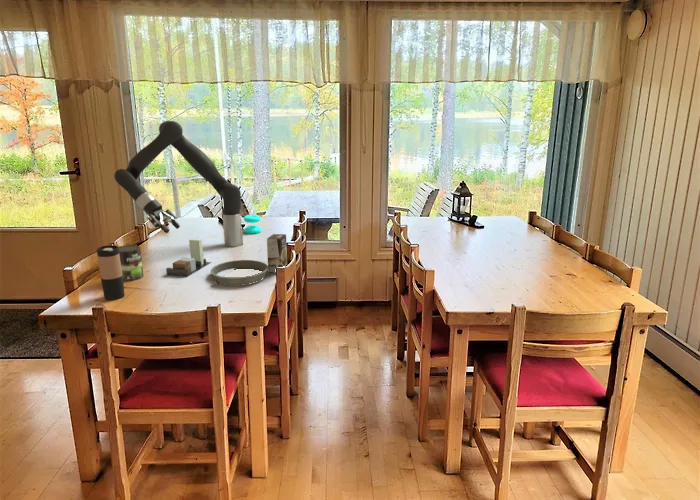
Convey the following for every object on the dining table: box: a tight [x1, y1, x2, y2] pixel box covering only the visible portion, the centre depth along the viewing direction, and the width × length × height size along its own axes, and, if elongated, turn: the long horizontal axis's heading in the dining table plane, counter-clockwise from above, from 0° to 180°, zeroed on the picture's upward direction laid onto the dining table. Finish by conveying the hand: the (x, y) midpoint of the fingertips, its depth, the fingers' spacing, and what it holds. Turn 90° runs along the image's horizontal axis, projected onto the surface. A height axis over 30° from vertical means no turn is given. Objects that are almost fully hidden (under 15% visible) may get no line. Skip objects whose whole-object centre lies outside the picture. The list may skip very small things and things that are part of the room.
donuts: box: [243, 214, 262, 235], centre depth 285 cm, size 10×10×10 cm
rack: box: [165, 258, 212, 278], centre depth 218 cm, size 21×10×4 cm, turn 167°
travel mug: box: [96, 245, 125, 301], centre depth 184 cm, size 8×8×20 cm
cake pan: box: [210, 259, 268, 286], centre depth 209 cm, size 25×25×4 cm
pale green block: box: [188, 238, 205, 265], centre depth 222 cm, size 2×5×12 cm, turn 77°
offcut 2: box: [177, 257, 196, 272], centre depth 215 cm, size 4×6×5 cm, turn 77°
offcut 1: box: [172, 260, 191, 273], centre depth 211 cm, size 4×6×5 cm, turn 77°
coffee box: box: [266, 233, 288, 274], centre depth 217 cm, size 9×6×16 cm
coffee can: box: [118, 244, 144, 282], centre depth 205 cm, size 10×10×14 cm
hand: (173, 229), depth 222 cm, fingers open, 8 cm apart
